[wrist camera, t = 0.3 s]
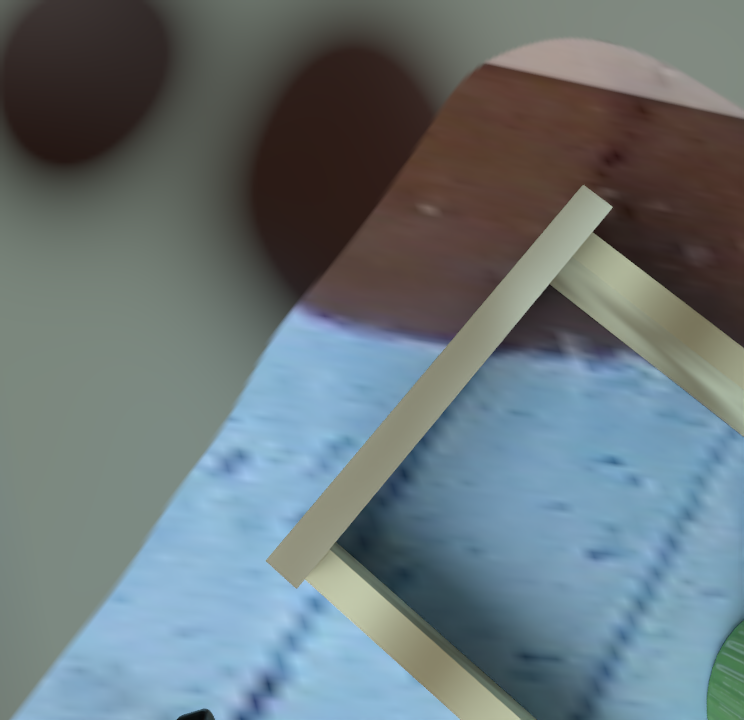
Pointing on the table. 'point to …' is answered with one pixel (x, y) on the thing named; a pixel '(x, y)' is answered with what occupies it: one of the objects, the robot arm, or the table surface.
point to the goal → (444, 382)
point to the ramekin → (728, 680)
